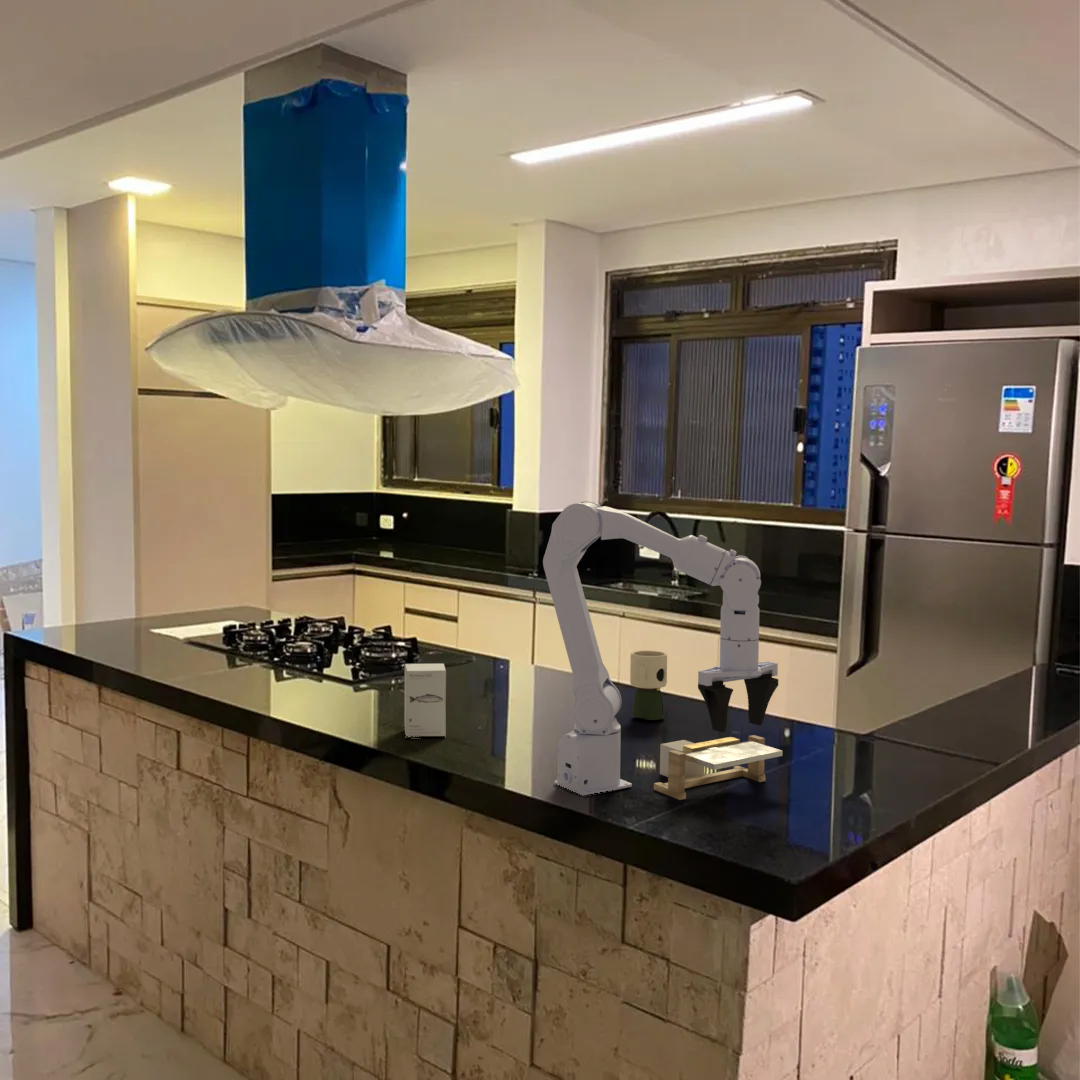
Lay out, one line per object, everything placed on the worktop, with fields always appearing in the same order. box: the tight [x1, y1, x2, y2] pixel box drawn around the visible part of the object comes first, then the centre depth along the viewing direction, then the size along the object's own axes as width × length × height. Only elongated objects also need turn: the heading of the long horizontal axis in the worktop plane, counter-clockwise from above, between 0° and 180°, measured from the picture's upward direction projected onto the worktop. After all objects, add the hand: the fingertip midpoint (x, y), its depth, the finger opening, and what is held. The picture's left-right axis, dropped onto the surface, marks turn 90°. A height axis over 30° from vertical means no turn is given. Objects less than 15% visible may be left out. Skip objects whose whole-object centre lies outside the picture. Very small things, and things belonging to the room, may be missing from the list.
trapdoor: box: [683, 736, 783, 771], centre depth 166 cm, size 14×9×2 cm, turn 124°
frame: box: [653, 734, 766, 801], centre depth 169 cm, size 18×6×7 cm, turn 124°
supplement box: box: [403, 663, 447, 737], centre depth 199 cm, size 7×7×13 cm
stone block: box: [659, 739, 705, 779], centre depth 175 cm, size 5×5×5 cm
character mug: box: [629, 650, 668, 722], centre depth 212 cm, size 11×7×13 cm, turn 160°
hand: (737, 727), depth 164 cm, fingers open, 7 cm apart
